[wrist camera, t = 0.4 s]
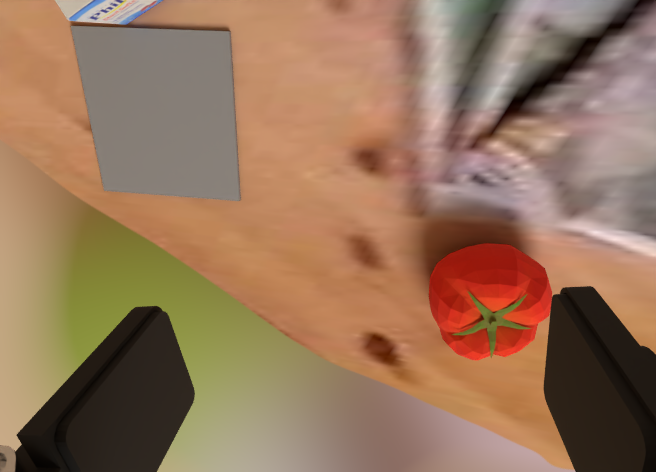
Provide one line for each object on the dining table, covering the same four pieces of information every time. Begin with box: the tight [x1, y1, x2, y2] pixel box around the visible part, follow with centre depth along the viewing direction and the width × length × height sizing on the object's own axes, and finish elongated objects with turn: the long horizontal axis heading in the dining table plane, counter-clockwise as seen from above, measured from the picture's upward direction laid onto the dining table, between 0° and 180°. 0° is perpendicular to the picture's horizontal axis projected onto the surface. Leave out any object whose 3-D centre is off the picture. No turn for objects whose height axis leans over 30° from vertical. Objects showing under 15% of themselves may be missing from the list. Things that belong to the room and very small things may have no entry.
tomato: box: [429, 243, 552, 360], centre depth 45 cm, size 13×12×8 cm
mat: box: [71, 26, 241, 201], centre depth 45 cm, size 17×16×1 cm
